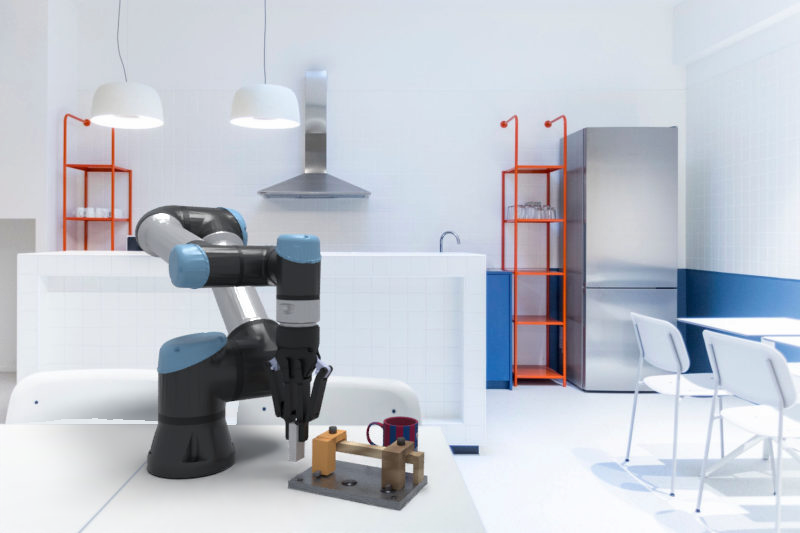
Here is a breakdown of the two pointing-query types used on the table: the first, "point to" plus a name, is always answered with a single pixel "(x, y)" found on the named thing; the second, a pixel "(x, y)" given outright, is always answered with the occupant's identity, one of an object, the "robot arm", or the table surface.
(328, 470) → the slider leg
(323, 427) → the table surface
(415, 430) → the mug
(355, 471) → the flange plate
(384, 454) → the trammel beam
